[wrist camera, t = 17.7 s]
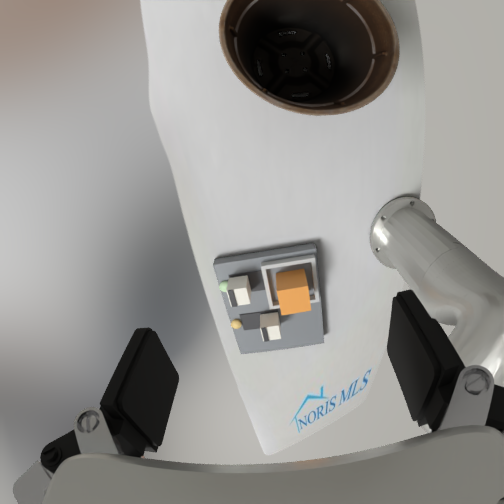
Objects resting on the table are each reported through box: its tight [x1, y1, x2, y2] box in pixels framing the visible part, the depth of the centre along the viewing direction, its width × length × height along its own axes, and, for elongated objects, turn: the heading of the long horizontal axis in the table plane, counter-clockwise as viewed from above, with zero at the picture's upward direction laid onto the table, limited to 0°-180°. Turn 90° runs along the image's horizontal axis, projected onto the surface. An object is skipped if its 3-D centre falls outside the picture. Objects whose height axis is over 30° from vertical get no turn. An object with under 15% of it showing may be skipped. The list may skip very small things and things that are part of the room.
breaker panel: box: [213, 243, 324, 354], centre depth 49 cm, size 20×16×3 cm
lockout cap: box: [276, 268, 311, 315], centre depth 44 cm, size 4×4×5 cm
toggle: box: [226, 275, 251, 307], centre depth 44 cm, size 3×3×4 cm
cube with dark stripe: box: [260, 312, 281, 342], centre depth 47 cm, size 3×3×4 cm
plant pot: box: [219, 0, 399, 116], centre depth 26 cm, size 16×16×16 cm
